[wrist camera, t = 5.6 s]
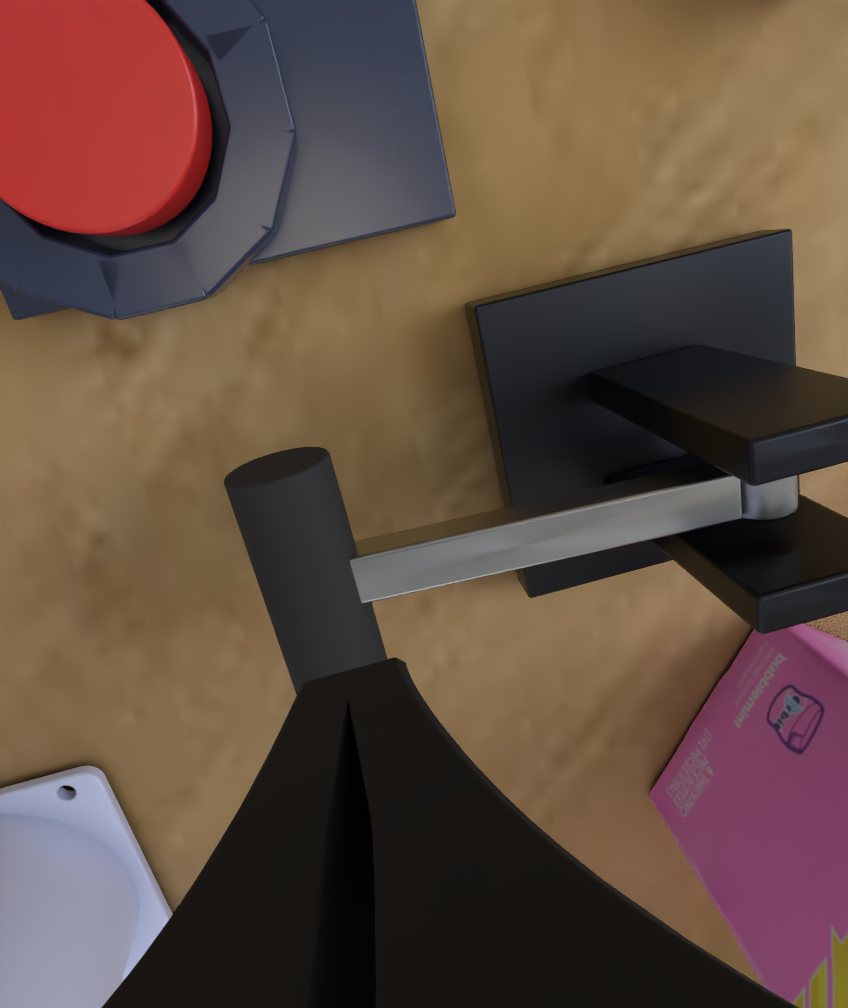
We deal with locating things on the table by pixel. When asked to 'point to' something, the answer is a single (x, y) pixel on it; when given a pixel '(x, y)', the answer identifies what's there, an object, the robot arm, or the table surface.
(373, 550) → the lever
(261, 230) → the control block
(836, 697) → the gum box
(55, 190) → the button
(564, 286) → the bracket
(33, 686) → the table surface
